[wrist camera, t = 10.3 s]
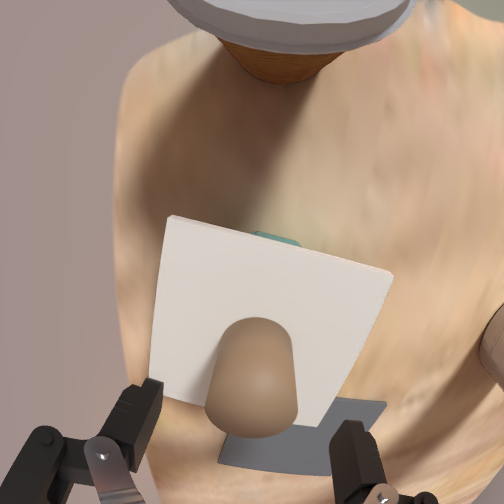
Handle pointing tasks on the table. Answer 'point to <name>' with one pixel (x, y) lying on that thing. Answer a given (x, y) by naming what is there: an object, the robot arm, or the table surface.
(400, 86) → the table surface
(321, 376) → the lid
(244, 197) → the table surface
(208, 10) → the disposable coffee cup
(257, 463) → the mat
